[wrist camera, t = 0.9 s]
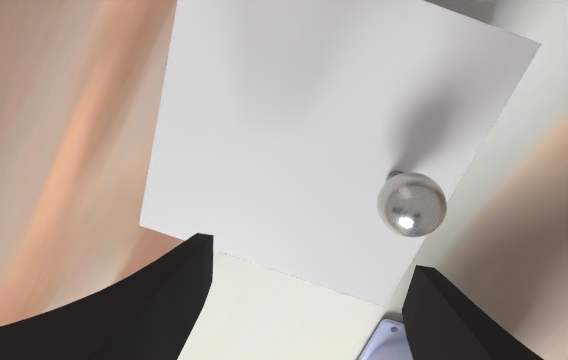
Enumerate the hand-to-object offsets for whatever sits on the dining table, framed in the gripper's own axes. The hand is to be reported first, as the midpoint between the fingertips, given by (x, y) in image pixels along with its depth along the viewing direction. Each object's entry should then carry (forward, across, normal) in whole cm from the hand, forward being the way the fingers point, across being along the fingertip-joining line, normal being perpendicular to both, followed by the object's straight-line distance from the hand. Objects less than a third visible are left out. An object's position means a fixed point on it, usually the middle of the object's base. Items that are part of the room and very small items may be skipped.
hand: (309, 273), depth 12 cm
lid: (+6, +1, -3) cm, 7 cm away
